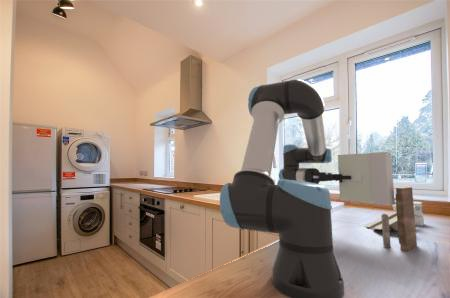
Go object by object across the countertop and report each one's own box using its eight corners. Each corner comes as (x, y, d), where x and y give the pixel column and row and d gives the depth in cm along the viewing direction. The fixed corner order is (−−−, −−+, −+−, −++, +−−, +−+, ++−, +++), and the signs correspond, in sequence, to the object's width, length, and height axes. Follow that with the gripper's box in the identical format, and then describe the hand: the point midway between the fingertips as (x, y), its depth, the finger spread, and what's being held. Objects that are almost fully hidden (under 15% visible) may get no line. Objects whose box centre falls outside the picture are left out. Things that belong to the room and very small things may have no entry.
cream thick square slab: (339, 200, 87) (336, 154, 89) (345, 199, 90) (342, 155, 91) (389, 205, 73) (385, 151, 75) (394, 204, 76) (390, 152, 78)
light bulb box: (424, 224, 108) (422, 201, 109) (423, 226, 103) (421, 203, 104) (396, 220, 115) (395, 199, 116) (395, 222, 110) (393, 201, 111)
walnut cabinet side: (382, 246, 75) (378, 187, 77) (394, 240, 81) (390, 186, 83) (405, 252, 70) (400, 188, 72) (417, 245, 76) (412, 187, 78)
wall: (398, 247, 86) (426, 222, 86) (379, 229, 89) (406, 204, 89) (378, 241, 101) (402, 220, 102) (363, 226, 104) (386, 205, 105)
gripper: (319, 184, 106) (374, 186, 86) (297, 185, 96) (353, 188, 77) (318, 168, 106) (372, 167, 87) (297, 168, 97) (352, 167, 78)
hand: (363, 177), depth 82 cm, fingers closed on cream thick square slab, 3 cm apart
